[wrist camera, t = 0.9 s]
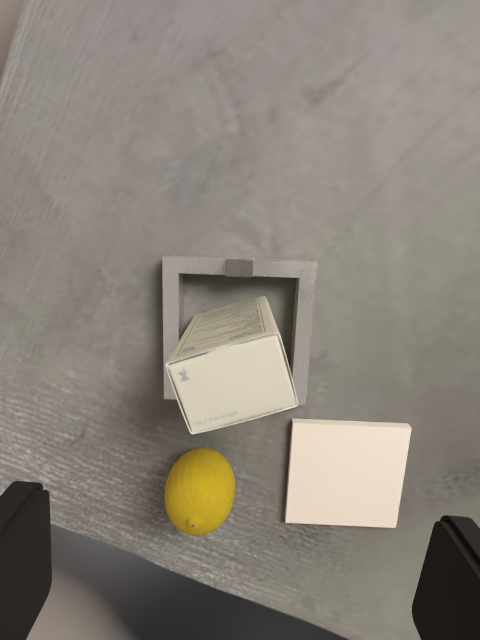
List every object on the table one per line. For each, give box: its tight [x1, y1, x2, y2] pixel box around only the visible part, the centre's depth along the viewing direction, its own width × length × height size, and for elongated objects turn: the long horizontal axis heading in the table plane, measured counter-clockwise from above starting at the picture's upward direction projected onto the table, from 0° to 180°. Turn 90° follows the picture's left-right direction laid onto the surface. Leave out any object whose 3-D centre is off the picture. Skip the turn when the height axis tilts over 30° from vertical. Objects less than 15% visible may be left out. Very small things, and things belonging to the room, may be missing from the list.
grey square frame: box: [162, 254, 317, 405], centre depth 30 cm, size 11×11×3 cm
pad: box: [285, 419, 411, 528], centre depth 34 cm, size 10×10×1 cm
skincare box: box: [165, 296, 298, 434], centre depth 25 cm, size 6×4×12 cm
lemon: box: [165, 448, 235, 535], centre depth 30 cm, size 6×6×8 cm
